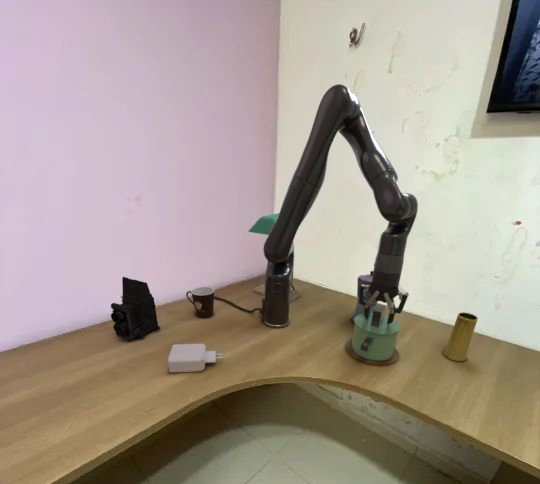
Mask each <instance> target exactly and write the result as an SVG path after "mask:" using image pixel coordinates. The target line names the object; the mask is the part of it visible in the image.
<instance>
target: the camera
mask: <svg viewBox="0 0 540 484" xmlns="http://www.w3.org/2000/svg"><path fill="white" fill-rule="evenodd" d="M121 281H122V286H121V287H122V295H121V296H120V298H121V303H116V302H112V303H110V309H112V313H111V314H110V318H111V320H112V322H113V323H114V324H113V327H112V328H113V330H114V331H115V335H116V336H117V337H119V338H122V339H124V340H129V341H131V340H133V339H136V340H139V339H140V338H143V337H145V336H146V335H147V334H148V333H150V332H152V331H158V330H161V326H159V323H158V316H157V309H156V306H157V305H156V304H155V298H154V296H153V294H152V293H151V290H150V289H149V284H148V282H145V281H141V280H138V279H133V278H129V277H126V276H122V279H121Z"/></svg>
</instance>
